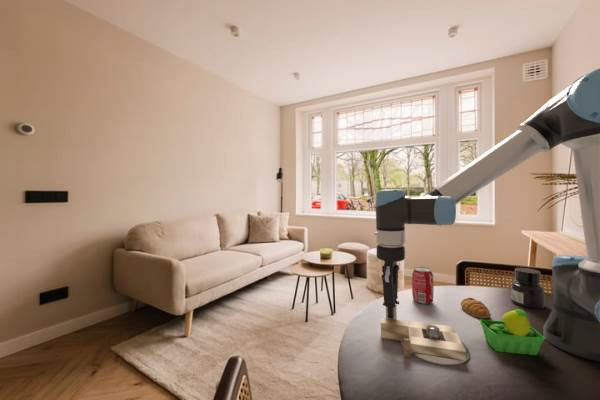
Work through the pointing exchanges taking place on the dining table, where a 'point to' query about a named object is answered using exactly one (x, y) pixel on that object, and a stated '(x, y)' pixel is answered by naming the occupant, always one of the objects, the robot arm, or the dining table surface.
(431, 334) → the pot lid
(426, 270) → the soda can
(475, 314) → the pastry
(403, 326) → the wooden block frame
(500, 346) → the fruit basket
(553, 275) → the robot arm
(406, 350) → the dowel
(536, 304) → the ink bottle
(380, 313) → the dining table surface
